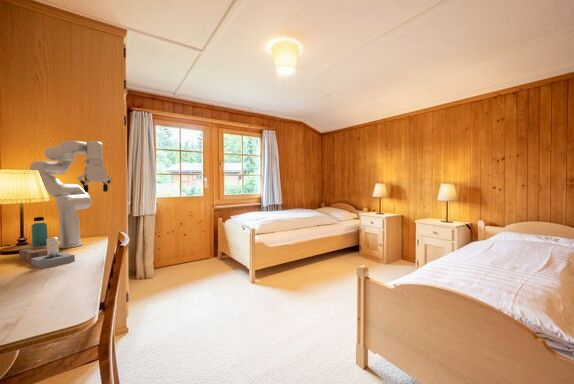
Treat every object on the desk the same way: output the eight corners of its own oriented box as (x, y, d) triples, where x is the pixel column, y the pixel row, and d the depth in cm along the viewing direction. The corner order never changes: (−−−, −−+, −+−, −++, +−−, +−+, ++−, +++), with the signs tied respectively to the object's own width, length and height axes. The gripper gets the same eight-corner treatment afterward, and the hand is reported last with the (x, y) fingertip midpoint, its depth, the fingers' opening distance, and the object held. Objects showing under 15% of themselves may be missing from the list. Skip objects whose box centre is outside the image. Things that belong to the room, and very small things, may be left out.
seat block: (31, 264, 117) (31, 258, 117) (63, 258, 128) (63, 252, 127) (41, 268, 111) (41, 261, 111) (74, 261, 122) (74, 255, 122)
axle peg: (46, 263, 119) (45, 238, 118) (56, 261, 122) (56, 236, 122) (49, 264, 117) (48, 239, 116) (60, 262, 120) (59, 237, 120)
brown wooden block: (19, 259, 127) (19, 249, 127) (45, 254, 136) (45, 245, 136) (31, 263, 119) (31, 252, 119) (58, 257, 128) (58, 248, 128)
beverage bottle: (40, 254, 136) (38, 217, 135) (28, 254, 136) (26, 217, 135) (51, 251, 142) (50, 216, 142) (40, 251, 142) (39, 216, 142)
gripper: (80, 161, 137) (81, 192, 138) (114, 163, 153) (115, 191, 153) (74, 161, 141) (75, 192, 141) (108, 164, 156) (108, 191, 157)
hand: (96, 191), depth 147 cm, fingers open, 9 cm apart
